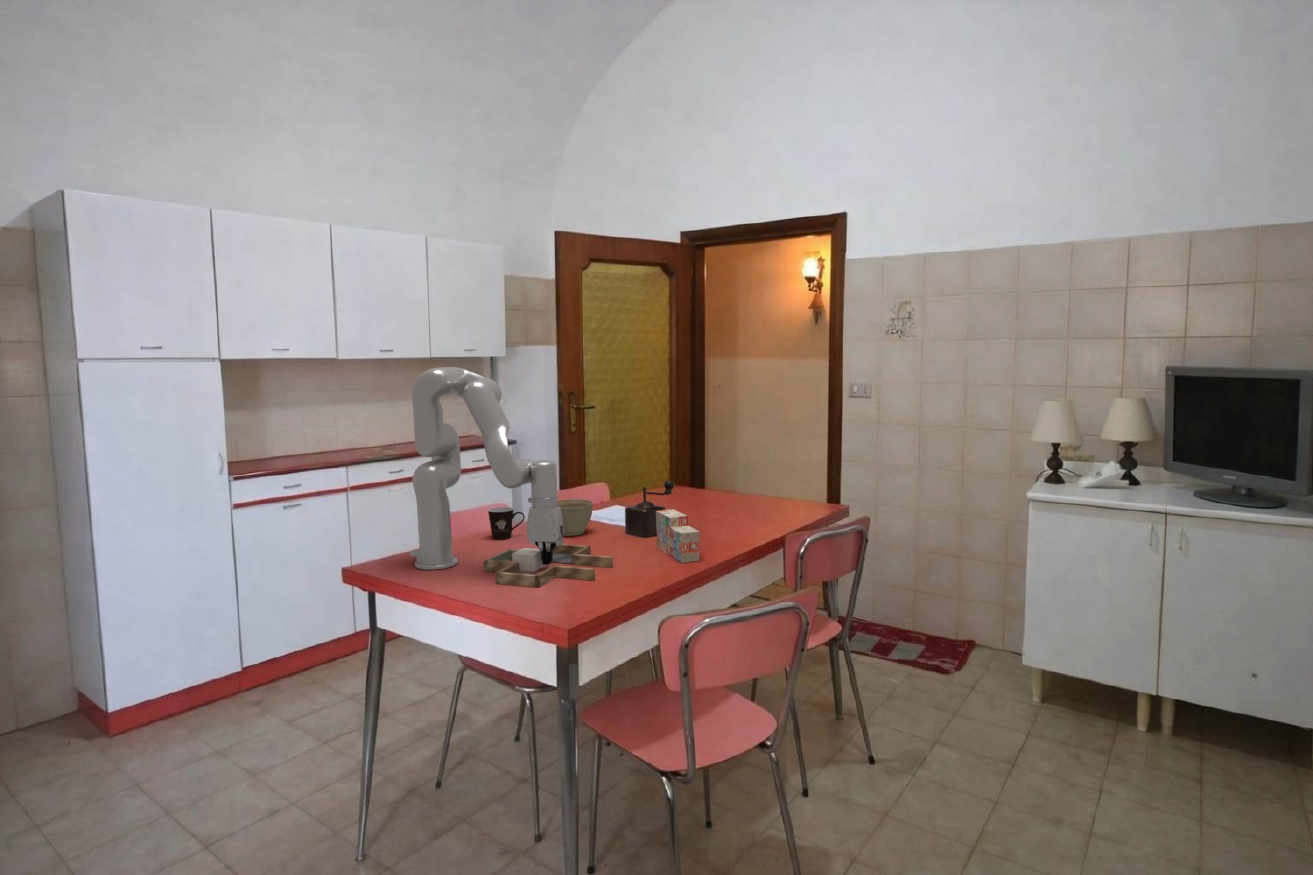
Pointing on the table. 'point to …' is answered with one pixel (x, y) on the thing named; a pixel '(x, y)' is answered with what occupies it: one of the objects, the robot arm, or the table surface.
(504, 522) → the coffee mug
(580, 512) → the planter bowl
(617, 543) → the table surface
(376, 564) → the table surface
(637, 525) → the manual coffee grinder
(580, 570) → the low wooden maze walls
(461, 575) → the table surface
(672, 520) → the stack of blocks
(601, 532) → the table surface
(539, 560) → the cream block
